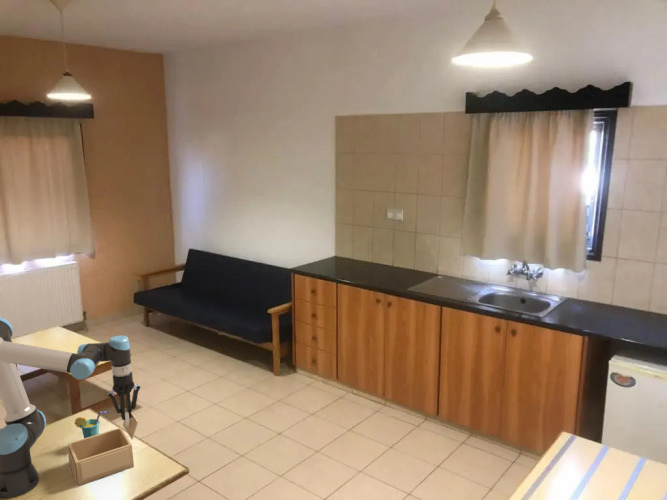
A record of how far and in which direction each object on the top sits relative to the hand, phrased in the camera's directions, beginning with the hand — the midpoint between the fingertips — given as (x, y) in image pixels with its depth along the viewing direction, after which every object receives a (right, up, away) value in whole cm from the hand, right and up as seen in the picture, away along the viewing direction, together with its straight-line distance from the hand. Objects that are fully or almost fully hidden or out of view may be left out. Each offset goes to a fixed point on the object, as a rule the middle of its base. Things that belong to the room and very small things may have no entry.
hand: (127, 425), depth 225 cm
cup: (-19, -13, +12) cm, 26 cm away
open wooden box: (-9, -16, -3) cm, 18 cm away
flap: (+1, +1, +1) cm, 1 cm away
